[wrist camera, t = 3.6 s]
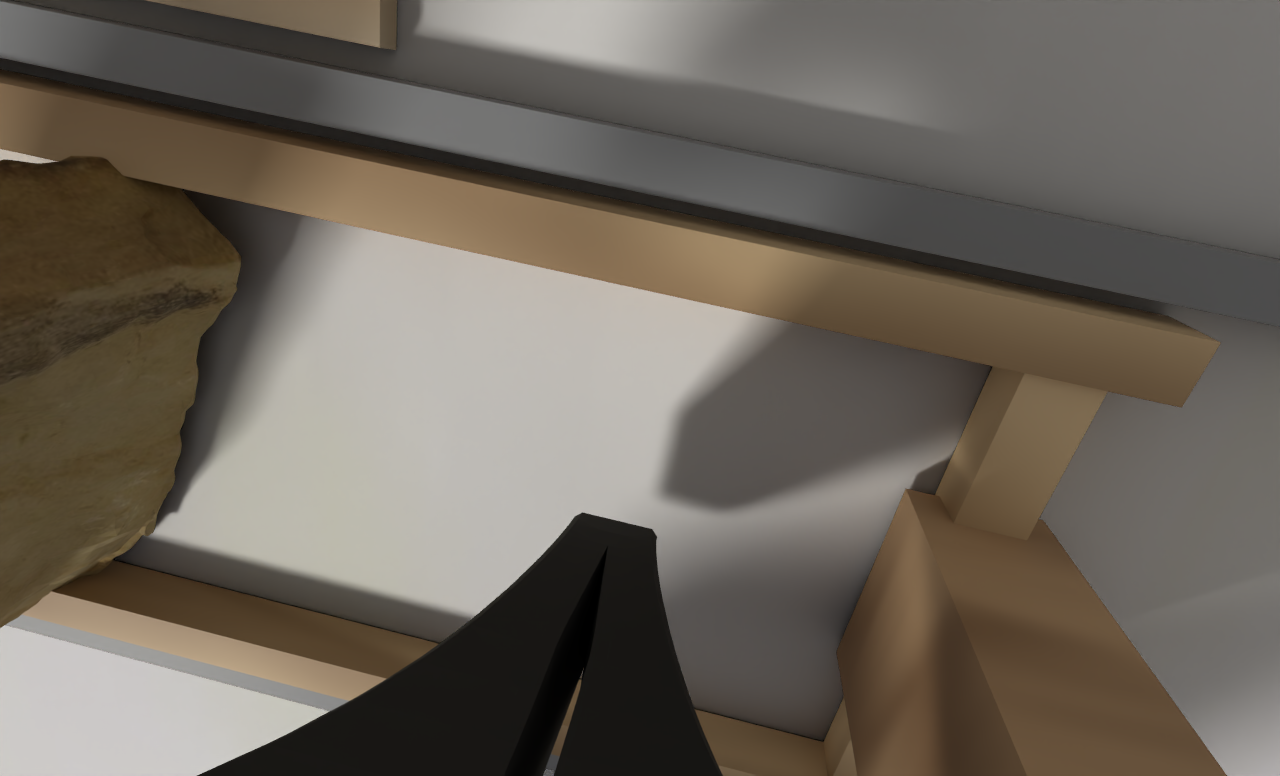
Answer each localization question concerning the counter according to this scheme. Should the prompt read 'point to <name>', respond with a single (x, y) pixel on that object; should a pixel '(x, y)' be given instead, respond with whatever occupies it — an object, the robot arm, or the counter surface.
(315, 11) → the maple strip
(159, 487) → the rock
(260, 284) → the counter surface
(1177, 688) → the counter surface
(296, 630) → the oak sled
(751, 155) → the rails
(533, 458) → the counter surface
